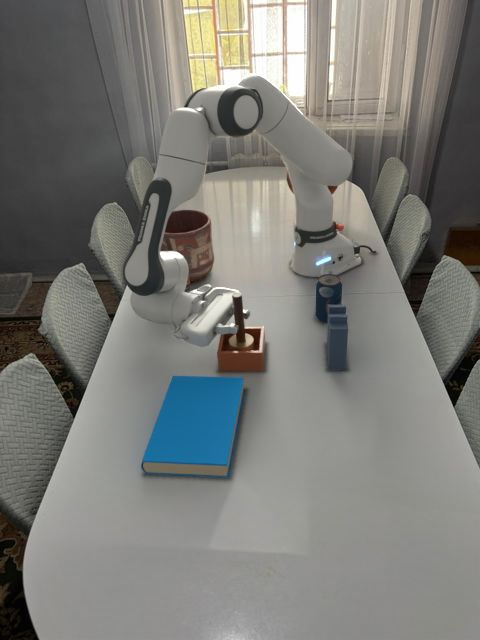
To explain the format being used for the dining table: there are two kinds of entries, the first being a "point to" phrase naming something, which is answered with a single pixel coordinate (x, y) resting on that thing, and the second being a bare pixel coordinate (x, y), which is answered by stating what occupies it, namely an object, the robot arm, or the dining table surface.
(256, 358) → the caddy
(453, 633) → the dining table surface
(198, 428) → the book
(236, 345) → the brush
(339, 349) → the stand
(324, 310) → the soda can
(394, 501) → the dining table surface
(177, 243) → the pottery
